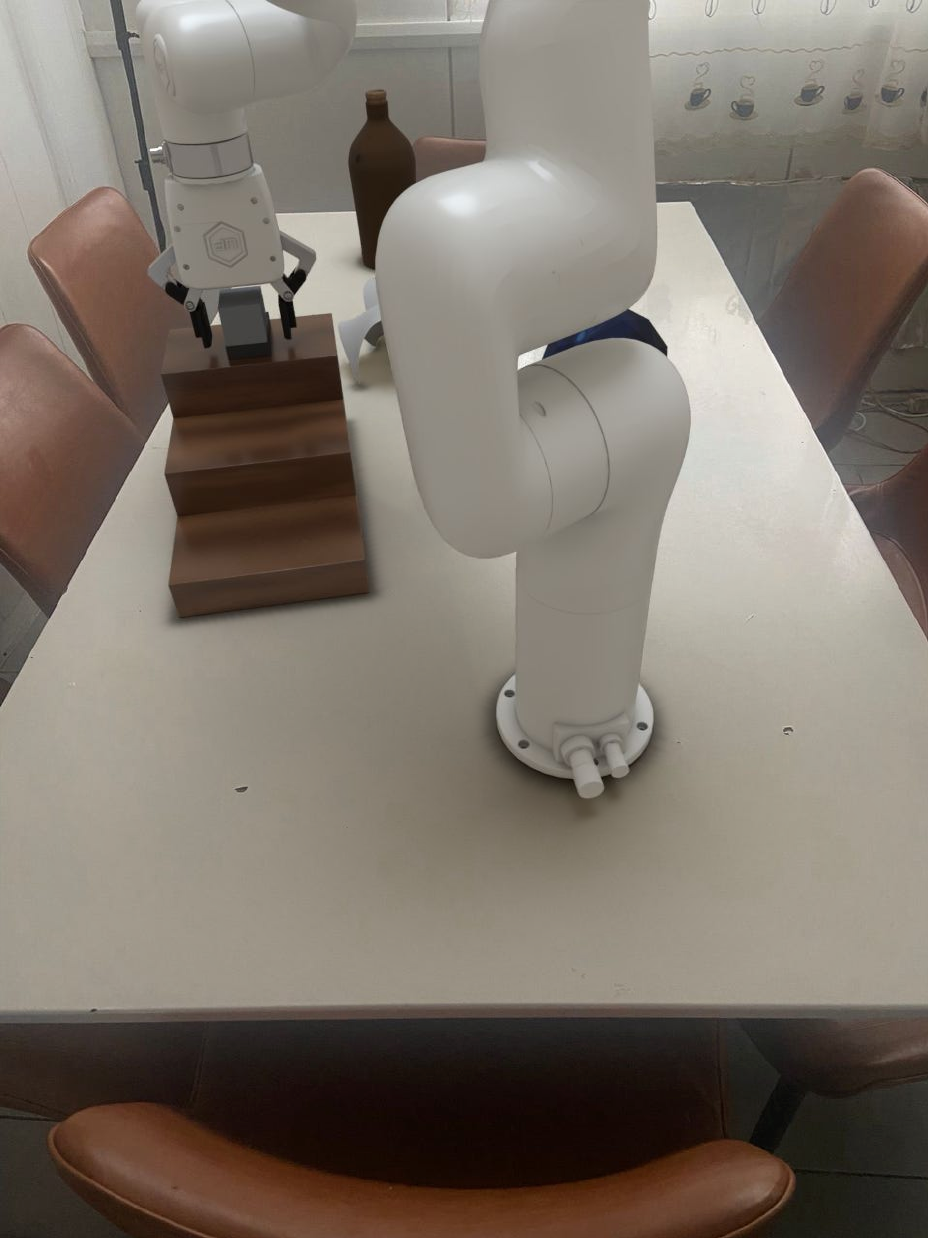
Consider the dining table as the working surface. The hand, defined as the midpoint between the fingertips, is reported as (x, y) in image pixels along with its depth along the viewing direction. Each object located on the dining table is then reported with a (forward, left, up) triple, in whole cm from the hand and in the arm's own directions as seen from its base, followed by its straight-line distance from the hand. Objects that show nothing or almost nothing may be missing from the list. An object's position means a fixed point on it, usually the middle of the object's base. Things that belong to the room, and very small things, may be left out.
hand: (248, 337), depth 93 cm
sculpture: (+26, -21, -15) cm, 37 cm away
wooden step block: (-9, 0, -15) cm, 18 cm away
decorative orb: (0, -39, -15) cm, 42 cm away
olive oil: (+61, -20, -15) cm, 66 cm away
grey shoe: (+2, 0, -1) cm, 2 cm away
